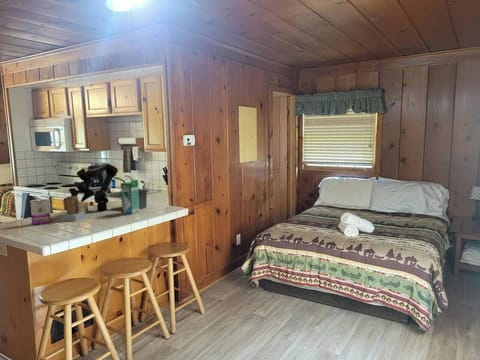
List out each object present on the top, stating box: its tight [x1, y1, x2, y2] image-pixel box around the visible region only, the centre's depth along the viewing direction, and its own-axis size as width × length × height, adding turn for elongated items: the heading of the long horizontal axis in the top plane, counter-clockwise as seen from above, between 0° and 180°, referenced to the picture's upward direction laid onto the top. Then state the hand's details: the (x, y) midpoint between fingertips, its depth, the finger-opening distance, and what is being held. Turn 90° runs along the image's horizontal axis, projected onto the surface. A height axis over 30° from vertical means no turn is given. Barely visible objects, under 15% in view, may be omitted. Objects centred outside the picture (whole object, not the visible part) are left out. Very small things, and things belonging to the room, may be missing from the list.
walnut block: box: [65, 195, 79, 214], centre depth 251 cm, size 6×6×12 cm
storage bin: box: [119, 188, 149, 210], centre depth 290 cm, size 21×16×14 cm
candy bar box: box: [29, 198, 52, 226], centre depth 240 cm, size 11×5×16 cm, turn 117°
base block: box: [61, 212, 86, 222], centre depth 252 cm, size 11×11×4 cm
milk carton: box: [120, 179, 140, 215], centre depth 269 cm, size 9×9×25 cm
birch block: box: [78, 201, 89, 214], centre depth 273 cm, size 5×5×8 cm
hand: (76, 201), depth 254 cm, fingers open, 9 cm apart
